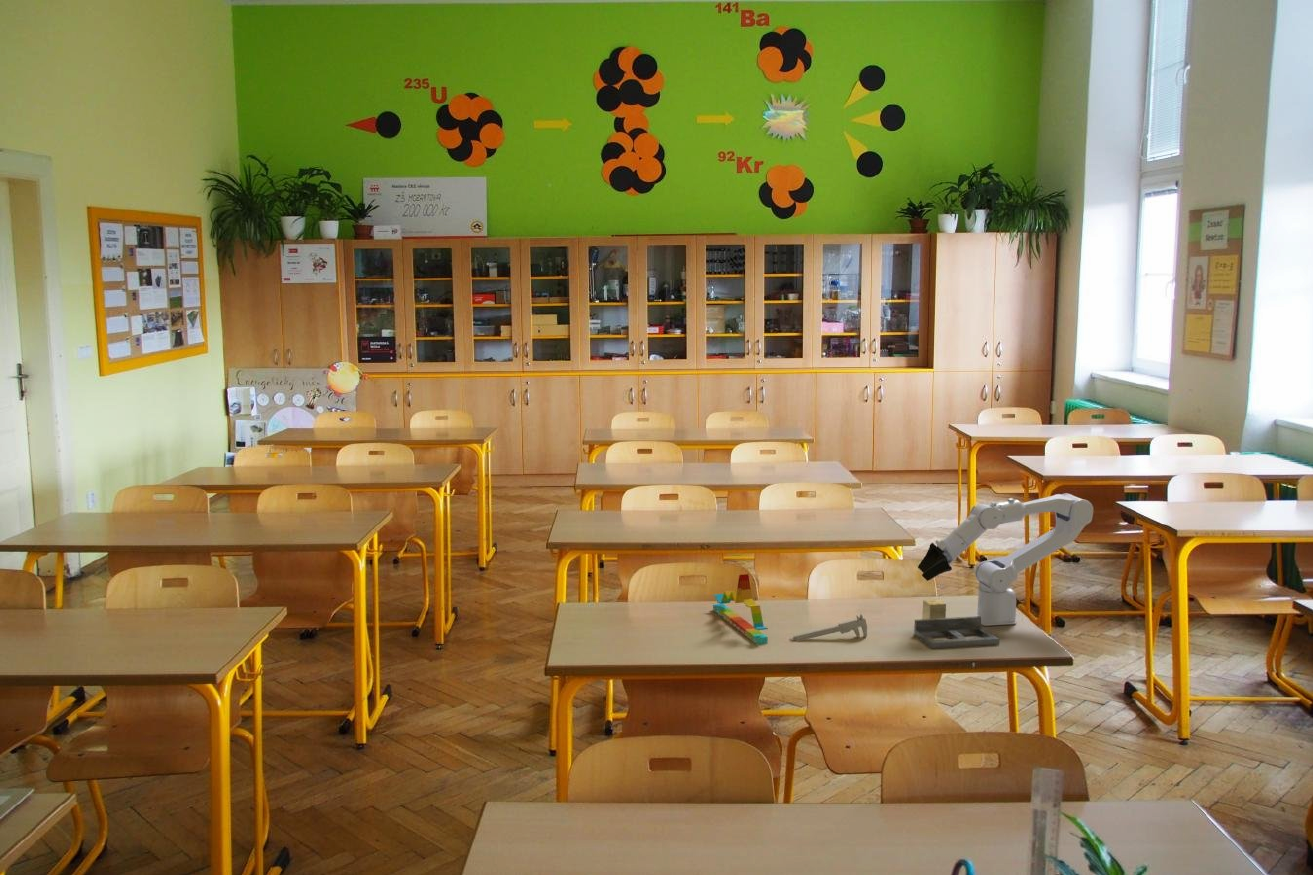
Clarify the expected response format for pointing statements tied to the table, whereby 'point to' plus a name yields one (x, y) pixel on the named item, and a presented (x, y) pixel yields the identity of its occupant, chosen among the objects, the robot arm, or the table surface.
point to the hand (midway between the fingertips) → (922, 574)
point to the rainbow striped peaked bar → (742, 625)
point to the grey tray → (953, 632)
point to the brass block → (934, 609)
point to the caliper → (836, 629)
